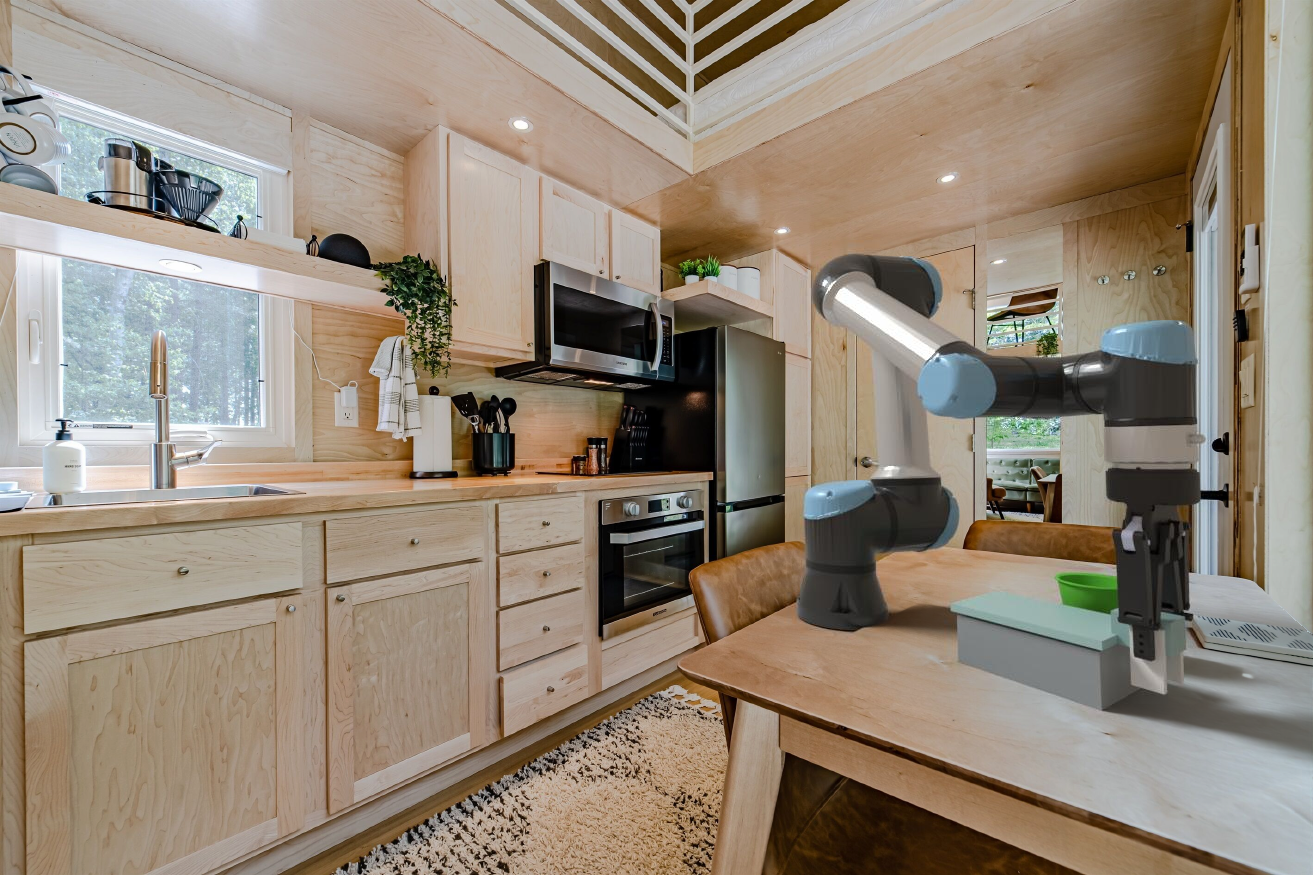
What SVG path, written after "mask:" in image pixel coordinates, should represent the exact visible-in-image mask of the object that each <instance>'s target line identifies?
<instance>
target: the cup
mask: <svg viewBox="0 0 1313 875" xmlns="http://www.w3.org/2000/svg"><path fill="white" fill-rule="evenodd" d="M1054 580H1056V581H1057V583H1058V589H1059V593H1060V597H1061V598H1060V599H1061V601H1062V605H1067V606H1072V607H1076V608H1081V609H1086V610H1091V611H1095V612H1100V613H1105V614H1109V615H1111V611H1112V610H1114V609H1117V608H1118V589H1117V575H1116V576H1115V575H1109V574H1102V573H1093V572H1092V573H1090V572H1073V571H1071V572H1059V573H1056V574H1055V575H1054Z"/></svg>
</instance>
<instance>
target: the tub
mask: <svg viewBox="0 0 1313 875" xmlns="http://www.w3.org/2000/svg"><path fill="white" fill-rule="evenodd" d="M956 626H957V628H956V630H957V657H958V658H957V660H958V661H957V662H958V663H960V664H963V665H965V666H969V667H971V668H974V669H976V670H980V671H983V672H986V673H988V674H992V675H995V676H998V677H1000V678H1003V679H1007V680H1009V681H1013V682H1016V683H1019V684H1022V685H1024V686H1028V687H1029V688H1030V687H1031V688H1034V689H1036V690H1040V691H1042V692H1045V693H1048V694H1051V695H1053V696H1057V697H1060V698H1062V699H1066V700H1068V701H1072V702H1075V703H1078V704H1080V705H1083V706H1087V707H1089V708H1092V709H1095V710H1098V711H1104V710H1105V709H1108V708H1109V707H1111V706H1113V705H1115V704H1116V703H1118V702H1120V701H1121V700H1123V699H1125V698H1127V697H1128V696H1130V695H1132V694H1133V693H1135V692H1137V691H1139V690H1140V689H1142V688H1141V687H1137V686H1134V685H1131V665H1130V647H1128V646H1124V645H1120V644H1116V645H1114V646H1112V647H1109V648H1107V649H1105V650H1103V651H1101V650H1098V649H1094V648H1090V647H1086V646H1082V645H1079V644H1075V643H1071V642H1067V641H1063V640H1059V639H1056V638H1052V637H1048V636H1044V635H1040V634H1036V633H1032V632H1029V631H1025V630H1021V629H1017V628H1013V627H1009V626H1005V625H1001V624H998V623H994V622H990V621H986V620H982V619H978V618H975V617H972V616H968V615H965V614H961V613H957V614H956Z"/></svg>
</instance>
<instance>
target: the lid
mask: <svg viewBox="0 0 1313 875" xmlns="http://www.w3.org/2000/svg"><path fill="white" fill-rule="evenodd" d="M950 612H953V613H957V614H965V615H968V616H972V617H975V618H978V619H982V620H986V621H990V622H994V623H998V624H1001V625H1005V626H1009V627H1013V628H1017V629H1021V630H1025V631H1029V632H1032V633H1036V634H1040V635H1044V636H1048V637H1052V638H1056V639H1059V640H1063V641H1067V642H1071V643H1075V644H1079V645H1082V646H1086V647H1090V648H1094V649H1098V650H1101V651H1103V650H1105V649H1107V648H1109V647H1112V646H1114V645H1116V644H1120V645H1124V646H1128V647H1130V634H1129V625H1128V624H1123V623H1119V622H1118V619H1117V617H1119V610H1118V608H1117V609H1114V610H1112V611H1111V615H1109V614H1105V613H1100V612H1095V611H1091V610H1086V609H1081V608H1076V607H1072V606H1067V605H1063V603H1062V604H1061V603H1057V602H1052V601H1047V600H1043V599H1040V598H1039V599H1038V598H1034V597H1029V596H1024V595H1020V594H1015V593H1009V592H1006V591H1000V590H995V591H991V592H987V593H983V594H980V595H977V596H972V597H969V598H965V599H962V600H957V601H954V602H951V603H950ZM1160 623H1161V627H1160V629H1164V630H1165V645H1166V656H1168V657H1173V656H1175V655H1177V654H1179V653H1181V652H1182V651H1183V652H1184V651H1186V650H1187V639H1186V636H1187V635H1186V634H1187V632H1186V621H1185V616H1180V615H1175V614H1170V613H1164V612H1161V621H1160Z"/></svg>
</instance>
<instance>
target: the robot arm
mask: <svg viewBox="0 0 1313 875" xmlns="http://www.w3.org/2000/svg"><path fill="white" fill-rule="evenodd" d="M812 283H813V284H812V287H811V288H812V289H811V298H812V304H813V305H814V308H815V310H816V311H817V312H818V314H820V316H822V318H823V319H824V320H825V321H827V322H828V323H830V324H831V325H833V326H835V327H838V328H846V329H847V330H848V331H850V332H852V334H854V335H855V336H856V337H858V338H859V339H861V340H862V341H863V342H864V343H866V345H868V346H869V347H870V349H871V350H870V353H871V367H872V368H871V369H872V383H873V384H872V385H873V398H874V411H875V412H874V413H875V428H876V430H875V431H876V445H877V447H876V448H877V459H878V462H877V463H878V468H877V470H876V471H875V472H874V473H873V474H872V475H871V476H870V480H865V479H858V480H857V479H851V480H850V479H849V480H845V481H843V480H840V481H838V480H837V481H832V482H826V483H825V482H824V483H821V484H817V485H814V486H812V487H810V488H809V489H807V491H806V493H805V495H804V501H803V502H804V505H803V506H804V507H803V517H804V519H803V520H804V545H805V546H804V547H805V548H804V549H805V572H804V577H803V579H802V584H801V585H800V586H801V587H800V591H799V595H798V596H797V599H796V616H797V617H798V618H799V619H801V620H802V621H804V622H806V623H809V624H811V625H813V626H814V625H815V626H818V627H822V628H827V629H834V630H843V631H860V630H861V629H864V628H866V627H871V626H877V625H880V624H883V623H885V622H887V621H888V620H889V616H890V615H889V606H888V604H887V602H886V600H885V597H884V594H883V591H882V588H881V584H880V581H879V578H878V575H877V555H879V554H880V555H881V554H882V555H883V554H893V553H894V554H895V553H907V552H908V553H909V552H915V553H923V552H925V551H926V552H927V551H930V550H931V551H932V550H937V549H940V548H942V547H944V546H946V545H947V544H948V543H949V542H950V540H952V539H953V538H954V536H955V535H956V533H957V530H958V527H959V523H960V507H959V503H958V500H957V499H956V498H955V497H953V495H954V494H953V492H952V491H951V490H950V489H949V488H947V487H945V486H944V485H942V475H941V474H940V473H939V472H937V471H936V470H935V469H934V468H933V467H932V466H931V458H930V443H929V442H930V441H929V428H928V427H929V426H928V416H927V415H928V414H927V413H928V412H929V413H930V414H932V415H934V416H937V417H944V418H945V417H946V418H947V417H948V418H953V419H959V420H962V419H963V420H966V419H973V418H1022V419H1033V420H1039V419H1043V420H1048V419H1049V420H1050V419H1054V418H1062V417H1065V418H1066V417H1077V416H1089V415H1103V422H1104V423H1103V424H1104V425H1103V426H1104V427H1103V445H1104V446H1103V448H1104V449H1103V450H1104V451H1103V452H1104V453H1103V454H1104V461H1105V462H1106V463H1108V464H1111V467H1108V468H1107V470H1106V471H1105V495H1106V498H1107V499H1108V500H1109V501H1111V502H1115V503H1124V504H1125V505H1126V509H1125V510H1126V511H1125V516H1124V519H1123V520H1122V526H1121V528H1120V529H1119V528H1113V530H1112V533H1111V536H1112V542H1113V546H1114V551H1115V564H1116V565H1115V567H1116V577H1117V589H1118V610H1119V617H1117V619H1118V622H1119V623H1123V624H1128V625H1129V634H1130V665H1131V685H1134V686H1137V687H1141V688H1140V689H1145V690H1148V691H1151V692H1154V693H1156V694H1160V695H1166V694H1168V681H1170V682H1174V683H1178V684H1183V683H1185V670H1184V669H1185V667H1184V666H1185V665H1184V651H1182V652H1181V653H1179V654H1177V655H1175V656H1173V657H1168V656H1166V645H1165V630H1164V629H1160V627H1161V623H1160V621H1161V612H1164V613H1170V614H1175V615H1180V616H1185V622H1190V623H1191V622H1193V619H1194V613H1191V612H1187V611H1189V610H1190V608H1191V603H1190V566H1189V564H1190V563H1189V562H1190V561H1189V559H1190V558H1189V539H1190V531H1191V530H1190V529H1191V524H1190V522H1189V521H1187V520H1180V519H1179V518H1180V517H1179V512H1178V507H1179V506H1180V507H1181V506H1192V505H1193V506H1194V505H1196V504H1199V503H1200V502H1201V499H1202V497H1201V496H1202V495H1201V494H1202V493H1201V492H1202V491H1201V472H1200V471H1198V469H1197V468H1191V464H1196V463H1197V462H1199V459H1200V458H1199V455H1200V454H1199V444H1204V443H1205V442H1206V440H1207V439H1206V437H1205V435H1204V434H1201V433H1200V434H1199V433H1198V432H1199V431H1198V417H1197V365H1198V364H1199V360H1198V358H1197V355H1196V347H1195V338H1194V332H1193V328H1192V326H1191V325H1189V323H1187V322H1185V321H1181V320H1174V319H1173V320H1171V319H1165V320H1164V319H1163V320H1150V321H1140V322H1133V323H1128V324H1123V325H1118V326H1115V327H1112V328H1109V329H1106V330H1105V331H1104V332H1103V333H1102V334H1101V343H1100V346H1099V350H1098V349H1097V350H1094V351H1091V352H1086V353H1079V354H1072V355H1066V356H1057V357H1054V356H1053V357H1051V356H1049V357H1048V356H1045V357H1044V356H1015V355H1014V356H1013V355H992V354H988V353H986V352H984V351H982V350H981V349H979V348H977V347H975V346H974V345H973V344H970V343H968V342H967V341H966V340H964V339H963V338H961V337H959V336H957V335H956V334H954V333H953V332H951V331H949V330H947V329H946V328H944V327H943V326H942V325H939V324H937V323H936V322H934V321H932V319H931V318H933V317H934V316H935V315H936V313H937V311H938V310H939V308H940V306H939V303H941V302H942V299H943V282H942V278H941V275H940V273H939V271H938V269H937V268H936V267H935V266H934V265H933V264H932V263H930V262H929V261H928V260H926V259H922V258H921V259H920V258H914V257H912V256H907V255H901V256H892V255H891V256H890V255H876V254H863V253H848V254H844V255H840V256H837V257H835V258H833V259H832V260H830V261H828V262H827V263H825V265H823V267H822V268H820V270H819V271H818V273H817V275H816V276H815V279H814V280H813V282H812ZM1167 680H1168V681H1167Z"/></svg>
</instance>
